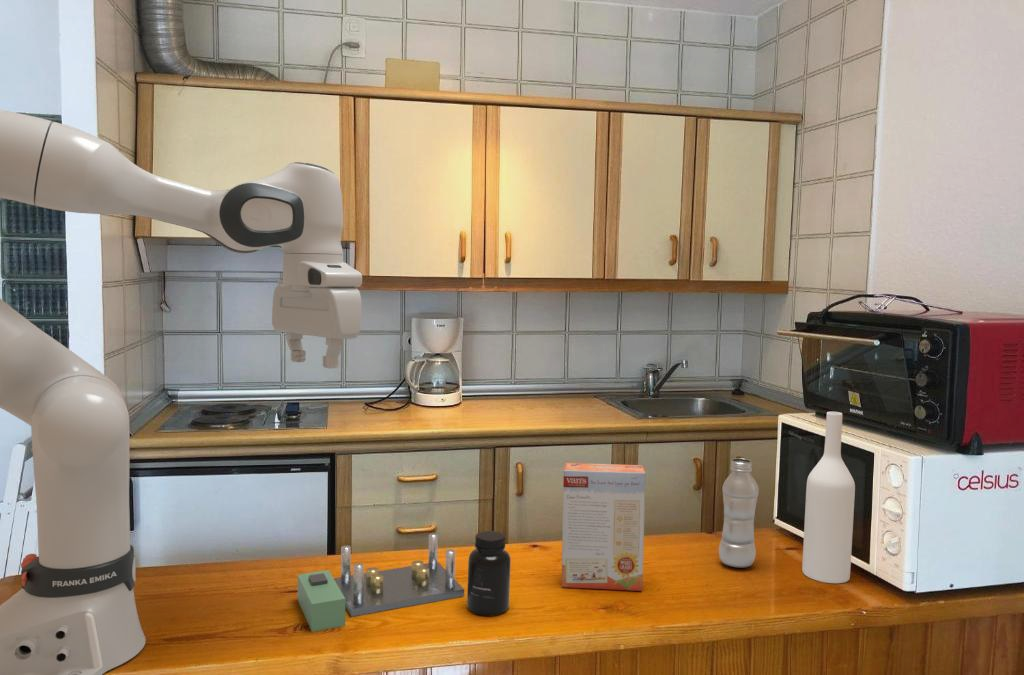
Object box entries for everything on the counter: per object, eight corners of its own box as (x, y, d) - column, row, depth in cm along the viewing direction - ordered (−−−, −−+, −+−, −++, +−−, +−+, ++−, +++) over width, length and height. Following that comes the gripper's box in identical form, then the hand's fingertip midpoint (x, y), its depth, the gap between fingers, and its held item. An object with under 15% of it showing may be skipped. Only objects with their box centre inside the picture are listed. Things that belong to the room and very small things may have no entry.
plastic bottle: (711, 560, 143) (715, 457, 141) (742, 557, 145) (746, 455, 144) (730, 573, 137) (735, 466, 135) (762, 570, 139) (767, 463, 137)
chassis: (351, 616, 117) (351, 572, 117) (333, 585, 129) (332, 544, 128) (464, 596, 126) (464, 554, 125) (437, 568, 137) (438, 529, 137)
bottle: (855, 585, 133) (865, 417, 130) (807, 582, 134) (816, 415, 131) (843, 568, 141) (852, 409, 138) (797, 564, 142) (805, 407, 139)
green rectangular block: (345, 627, 114) (345, 594, 114) (311, 633, 112) (311, 600, 112) (328, 596, 125) (328, 566, 125) (297, 601, 123) (297, 571, 123)
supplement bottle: (472, 619, 117) (473, 544, 116) (463, 600, 124) (464, 529, 123) (514, 614, 119) (516, 541, 118) (503, 596, 126) (504, 526, 125)
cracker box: (640, 578, 134) (644, 463, 132) (642, 593, 128) (646, 472, 126) (561, 574, 135) (564, 460, 134) (560, 588, 129) (563, 469, 128)
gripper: (261, 272, 119) (262, 359, 120) (331, 274, 104) (331, 373, 105) (297, 273, 123) (298, 357, 124) (369, 274, 109) (369, 369, 110)
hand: (313, 364), depth 115 cm, fingers open, 8 cm apart
